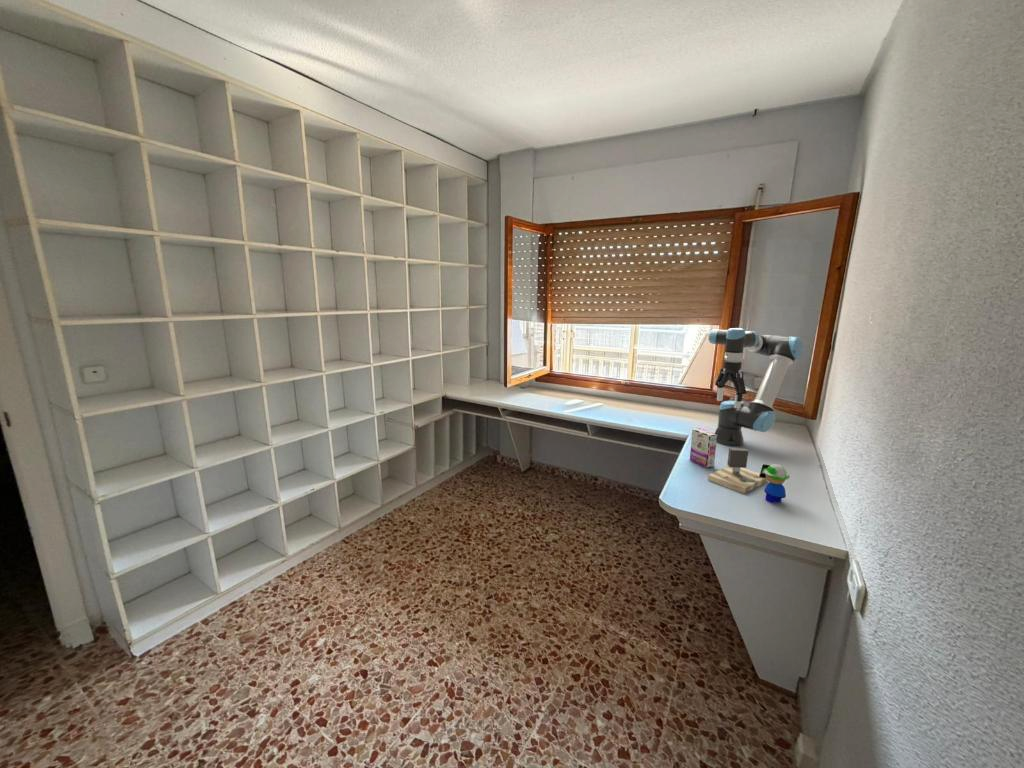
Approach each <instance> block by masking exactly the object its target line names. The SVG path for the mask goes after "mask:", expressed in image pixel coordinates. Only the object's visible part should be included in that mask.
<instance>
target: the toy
mask: <svg viewBox="0 0 1024 768" xmlns="http://www.w3.org/2000/svg"><path fill="white" fill-rule="evenodd" d="M760 469H761V470H760V472H759V473H760V475H759V477H761V478H766V479H767V480H768V481H767V482H768V483H767V484H766V485H765V488H764V489H763V491H764V493H765V499H764V500H765V501H766V502H768V503H771V504H772V503H781V502H782V499H785V498H786V497H787V495H786V488H785V486H784V485H783V484H784V482H785V481H786V480H789V479H790V474H789V473H788V472H787V471H786V469H785V468H784V466H782V465H781V464H778V463H774V464H771V465H770V464H762V466H761V468H760Z"/></svg>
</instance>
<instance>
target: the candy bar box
mask: <svg viewBox="0 0 1024 768" xmlns="http://www.w3.org/2000/svg"><path fill="white" fill-rule="evenodd" d="M714 433H715V432H711V431H709V430H706V429H704V428H699V427H697V428H692V432H691V443H690V452H689V453H690V454H689V461H691V462H692V463H695V464H697V465H700V466H701V467H703V468H706V469H707V468H708V469H709V468H710V469H711V468H714V467H715V459H716V450H717V434H714Z"/></svg>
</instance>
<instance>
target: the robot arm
mask: <svg viewBox="0 0 1024 768" xmlns="http://www.w3.org/2000/svg"><path fill="white" fill-rule="evenodd" d="M708 342H709V343H710V344H712V345H720V346H725V349H724V350H725V351H724V359H723V366H722V367H723V368H720V371H719V374H718V376H717V378H716V381H715V383H714V386H716V388H717V391H716V393H717V394H716V401H718V402H720V401H721V402H720V405H719V409H718V410H719V411H718V422H717V427H716V430H715V432H713V433H714V434H717V443H718V444H719V445H720V444H721V445H723V446H724V445H725V446H734V447H735V446H736V447H738V446H742V445H744V440H745V439H744V435H743V431H742V428H744V429H749V430H752V431H754V432H760V433H766V432H768V431H770V430H771V428H773V426H774V424H775V423H776V418H777V416H776V413H775V412H774V411H775V408H774V406H773V405H774V402H775V400H776V398H777V395H778V392H779V390H780V388H781V386H782V383H783V381H784V378H785V376H786V372H787V371H788V368H789V366H791V365H794V363H795V360H800V359H801V358H802V356H803V354H804V343H803V340H802V339H801V338H800V337H798V336H791V335H790V336H789V335H778V334H777V335H776V334H775V335H774V334H758V332H756V331H753V330H748V331H746V329H745V328H740V327H735V328H734V327H731V328H728V329H718V328H717V329H711V330H710V332H709V333H708ZM744 350H746V351H748V352H750V353H755V354H759V355H763V356H767V357H768V359H769V360H770V361H769V364H768V366H767V368H766V371H765V374H764V376H763V378H762V380H761V383H760V386H759V388H758V391H757V392H756V395H755V398H754V400H751V401H749V404H748V405H745V402H744V401H743V395H747V389H746V386H745V379H744V373H739V371H740V370H742V364H743V363H742V362H743V355H744ZM728 381H730V382H731V383H732V384H733V386H734V387H733V388H734V390H735V392H736V393H735V394H734V395H735V396H734V400H724V392H725V391H724V390H725V385H726V384H727V383H728ZM717 443H716V444H717Z"/></svg>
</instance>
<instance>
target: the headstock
mask: <svg viewBox="0 0 1024 768" xmlns="http://www.w3.org/2000/svg"><path fill="white" fill-rule="evenodd" d="M732 470H733V467H729V466H728V465H727V466H725V467H723V468H721V469H718V470H717V471H714V472H711V473H709V474H708V475H707V476H708V477H707V480H708V481H709V482H713V483H716V484H718V485H720V486H723V487H725V488H729V489H730V490H734V491H736V492H738V493H741V494H746V493H749V492H750V491H753V490H754V489H756V488H758V487H760V486H761V485H764V484H765V483H767V482H769V481H768V480H767V479H766V478H761V477H759V475H760V472H759V473H758V472H756V471H754V470H750V469H747V468H740V475H741V476H742V477H743V478H744V479H745V481H743V480H742V479H741V478H740V477H739V476H738V474H735V473H733V472H732Z"/></svg>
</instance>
